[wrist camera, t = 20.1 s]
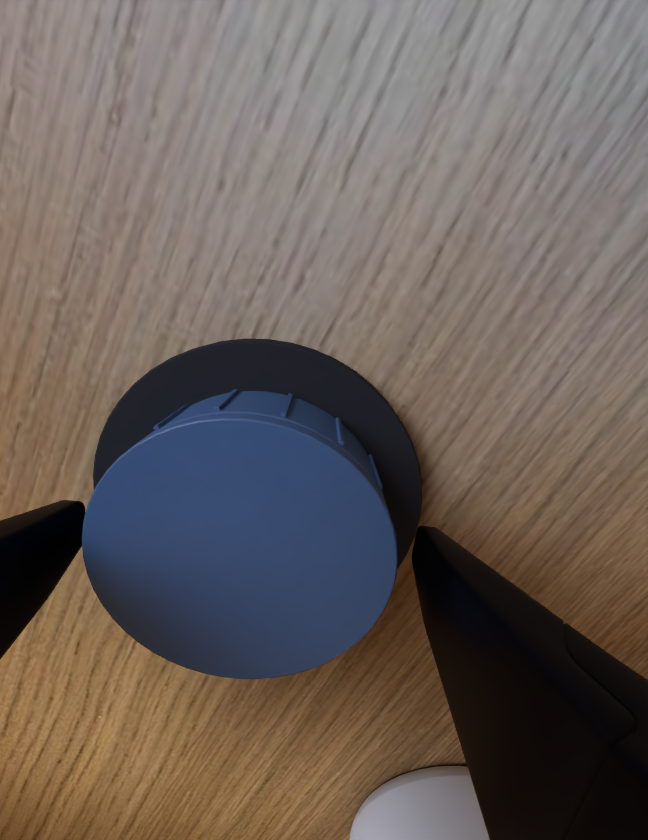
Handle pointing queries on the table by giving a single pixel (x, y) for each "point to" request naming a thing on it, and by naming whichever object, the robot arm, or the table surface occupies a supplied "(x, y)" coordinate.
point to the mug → (422, 808)
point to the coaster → (283, 374)
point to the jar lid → (243, 537)
